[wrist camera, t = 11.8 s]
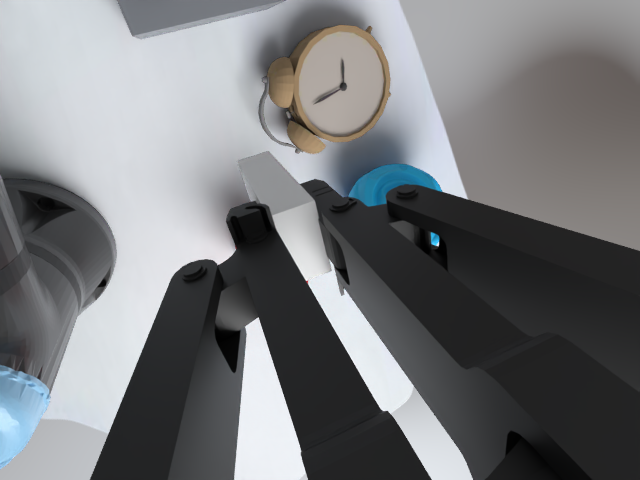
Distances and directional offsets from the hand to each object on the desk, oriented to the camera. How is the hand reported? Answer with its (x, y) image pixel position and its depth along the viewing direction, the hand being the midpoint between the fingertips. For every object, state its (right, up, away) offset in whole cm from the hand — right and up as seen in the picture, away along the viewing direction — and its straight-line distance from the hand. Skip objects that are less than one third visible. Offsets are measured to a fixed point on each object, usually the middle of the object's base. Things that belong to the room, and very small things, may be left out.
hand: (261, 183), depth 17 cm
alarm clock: (+2, +14, +24) cm, 27 cm away
